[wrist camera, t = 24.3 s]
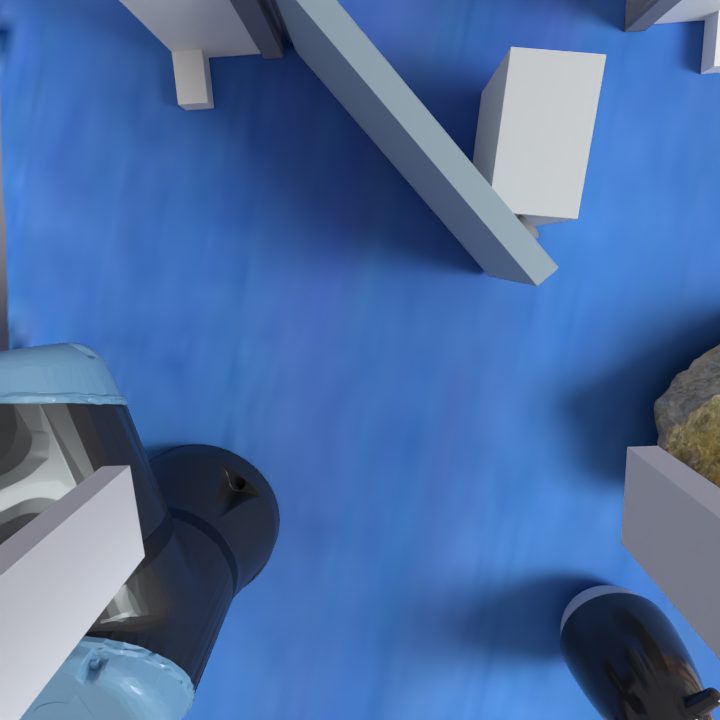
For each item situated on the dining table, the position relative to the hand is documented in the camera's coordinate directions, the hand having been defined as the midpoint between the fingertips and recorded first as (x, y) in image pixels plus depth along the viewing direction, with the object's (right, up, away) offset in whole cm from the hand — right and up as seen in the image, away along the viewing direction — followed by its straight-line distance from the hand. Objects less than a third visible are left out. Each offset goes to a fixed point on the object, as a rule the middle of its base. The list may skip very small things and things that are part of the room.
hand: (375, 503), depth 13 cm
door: (+3, +22, +27) cm, 35 cm away
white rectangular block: (+12, +20, +28) cm, 36 cm away
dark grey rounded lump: (+24, -22, +36) cm, 49 cm away
